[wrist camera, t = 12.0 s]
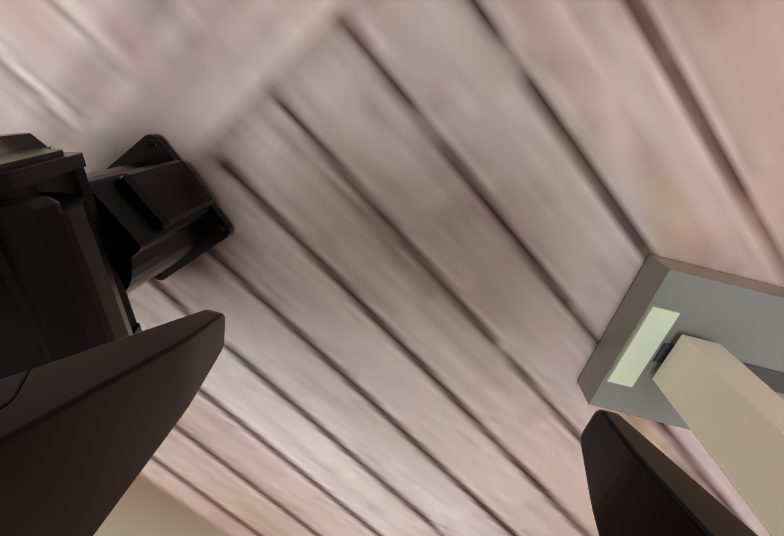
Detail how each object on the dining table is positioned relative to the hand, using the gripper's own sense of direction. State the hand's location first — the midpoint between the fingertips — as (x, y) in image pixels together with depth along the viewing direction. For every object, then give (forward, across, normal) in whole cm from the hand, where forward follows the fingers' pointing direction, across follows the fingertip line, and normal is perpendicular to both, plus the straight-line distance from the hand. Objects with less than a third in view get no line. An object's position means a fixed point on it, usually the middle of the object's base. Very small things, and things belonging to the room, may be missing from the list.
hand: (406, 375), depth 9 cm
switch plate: (+13, -18, +4) cm, 23 cm away
